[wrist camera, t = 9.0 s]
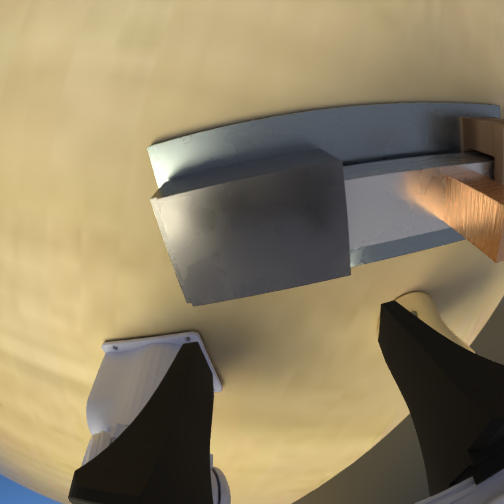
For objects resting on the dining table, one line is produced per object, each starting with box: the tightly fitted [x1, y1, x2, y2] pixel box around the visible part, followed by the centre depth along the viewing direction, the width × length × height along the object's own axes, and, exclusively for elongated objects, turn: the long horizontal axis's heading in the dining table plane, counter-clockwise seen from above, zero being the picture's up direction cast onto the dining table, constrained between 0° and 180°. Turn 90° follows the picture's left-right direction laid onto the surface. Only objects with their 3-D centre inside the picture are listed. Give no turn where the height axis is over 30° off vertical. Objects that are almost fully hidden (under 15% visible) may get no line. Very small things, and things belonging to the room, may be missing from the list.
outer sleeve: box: [147, 102, 500, 306], centre depth 17 cm, size 26×11×5 cm, turn 102°
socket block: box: [459, 117, 504, 185], centre depth 16 cm, size 4×9×5 cm, turn 12°
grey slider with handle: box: [343, 151, 504, 263], centre depth 14 cm, size 16×4×8 cm, turn 102°
